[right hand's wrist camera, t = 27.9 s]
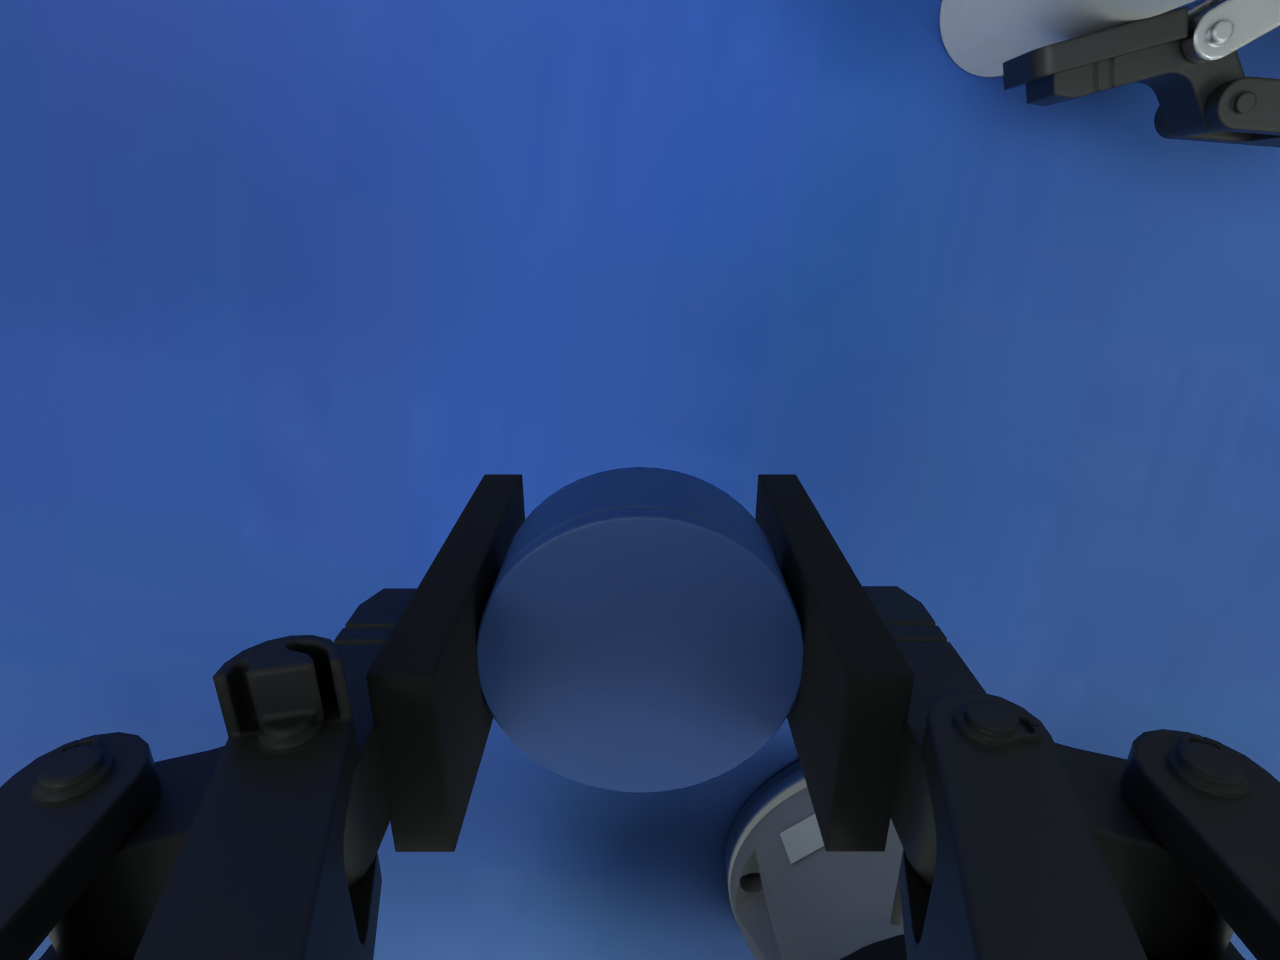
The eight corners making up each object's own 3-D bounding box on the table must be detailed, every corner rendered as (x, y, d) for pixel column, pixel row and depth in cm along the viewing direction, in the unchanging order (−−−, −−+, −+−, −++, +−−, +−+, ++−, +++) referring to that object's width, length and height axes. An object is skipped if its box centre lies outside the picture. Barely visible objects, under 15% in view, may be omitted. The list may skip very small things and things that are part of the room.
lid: (532, 724, 13) (514, 809, 11) (471, 488, 11) (438, 543, 9) (789, 693, 13) (814, 775, 11) (767, 446, 11) (792, 493, 9)
